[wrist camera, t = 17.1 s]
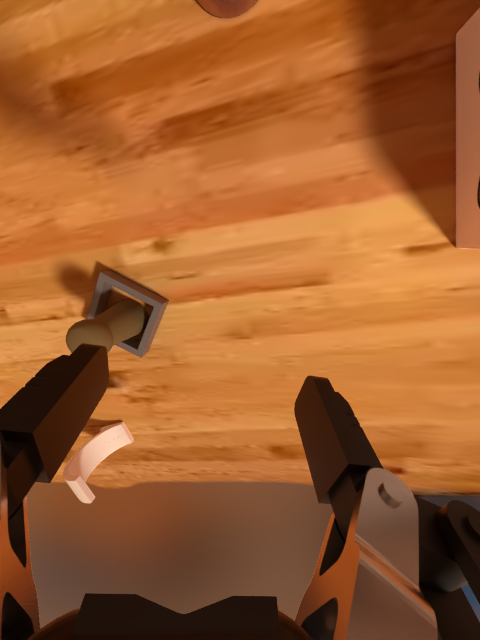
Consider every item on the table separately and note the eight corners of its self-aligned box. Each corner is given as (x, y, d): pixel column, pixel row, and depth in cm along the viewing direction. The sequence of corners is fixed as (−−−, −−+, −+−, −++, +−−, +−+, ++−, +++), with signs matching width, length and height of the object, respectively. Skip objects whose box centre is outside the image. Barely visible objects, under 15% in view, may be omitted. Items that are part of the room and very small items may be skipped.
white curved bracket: (134, 439, 47) (91, 502, 36) (109, 445, 48) (60, 508, 37) (123, 421, 46) (75, 480, 35) (98, 427, 47) (43, 486, 36)
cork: (140, 295, 37) (91, 316, 27) (153, 330, 39) (111, 363, 29) (107, 303, 38) (47, 326, 28) (121, 337, 40) (69, 371, 30)
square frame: (109, 270, 37) (99, 272, 34) (168, 300, 37) (162, 304, 35) (93, 324, 40) (83, 328, 38) (148, 351, 40) (141, 357, 38)
